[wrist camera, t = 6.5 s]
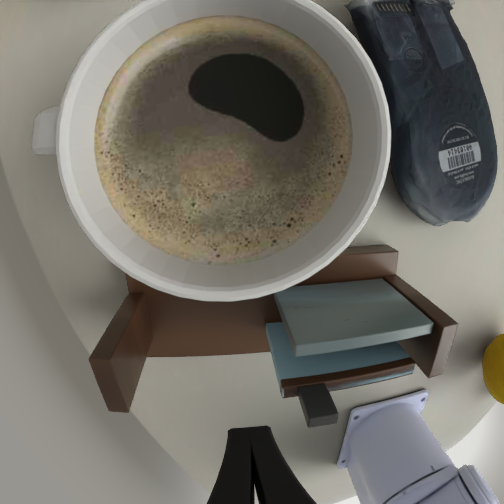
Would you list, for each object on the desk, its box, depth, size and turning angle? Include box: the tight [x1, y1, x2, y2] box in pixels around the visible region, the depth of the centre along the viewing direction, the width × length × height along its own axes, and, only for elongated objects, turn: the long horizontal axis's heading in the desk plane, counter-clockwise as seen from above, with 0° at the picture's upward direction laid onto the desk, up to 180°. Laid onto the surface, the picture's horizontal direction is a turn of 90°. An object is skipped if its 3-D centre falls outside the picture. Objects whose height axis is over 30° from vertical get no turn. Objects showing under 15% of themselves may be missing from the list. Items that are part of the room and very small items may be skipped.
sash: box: [266, 322, 416, 428], centre depth 14 cm, size 1×7×8 cm, turn 92°
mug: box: [32, 0, 391, 301], centre depth 11 cm, size 11×10×10 cm
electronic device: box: [345, 0, 497, 226], centre depth 15 cm, size 9×6×15 cm
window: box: [89, 245, 458, 413], centre depth 15 cm, size 6×16×8 cm, turn 92°
